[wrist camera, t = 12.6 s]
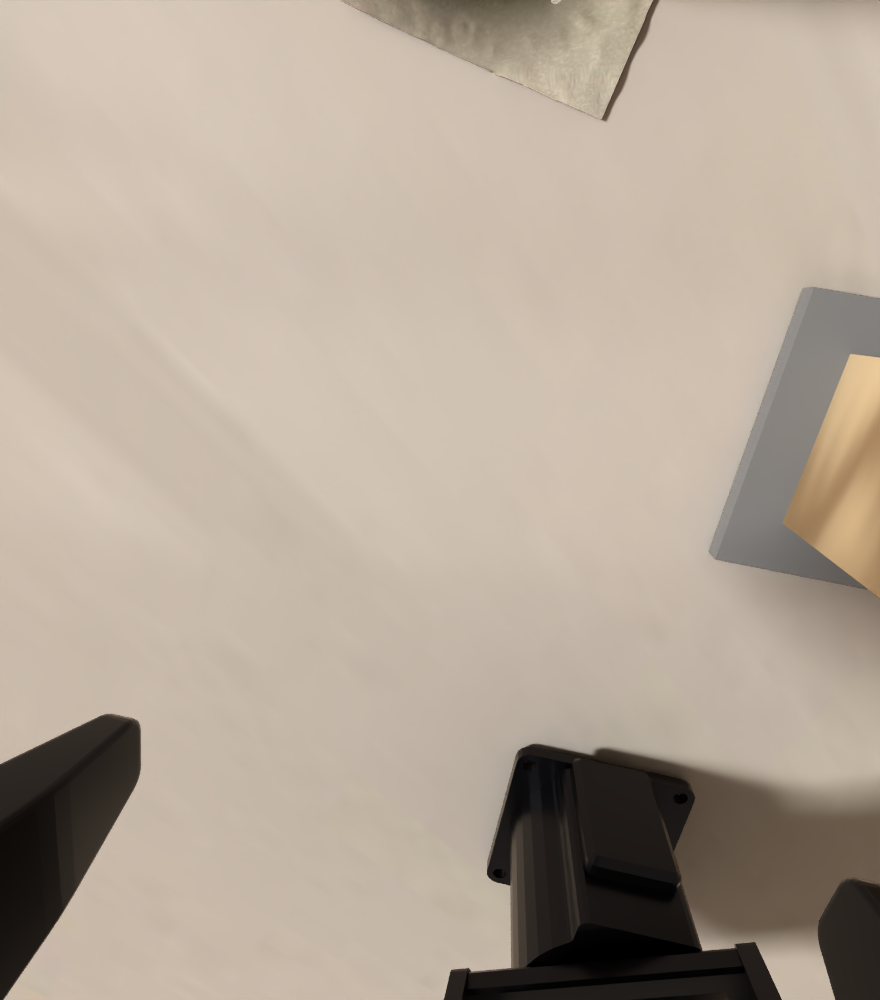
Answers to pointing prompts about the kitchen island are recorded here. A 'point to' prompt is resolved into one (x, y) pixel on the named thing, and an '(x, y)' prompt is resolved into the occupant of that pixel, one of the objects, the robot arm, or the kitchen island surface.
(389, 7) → the condiment
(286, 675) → the kitchen island surface
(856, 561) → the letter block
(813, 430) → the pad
